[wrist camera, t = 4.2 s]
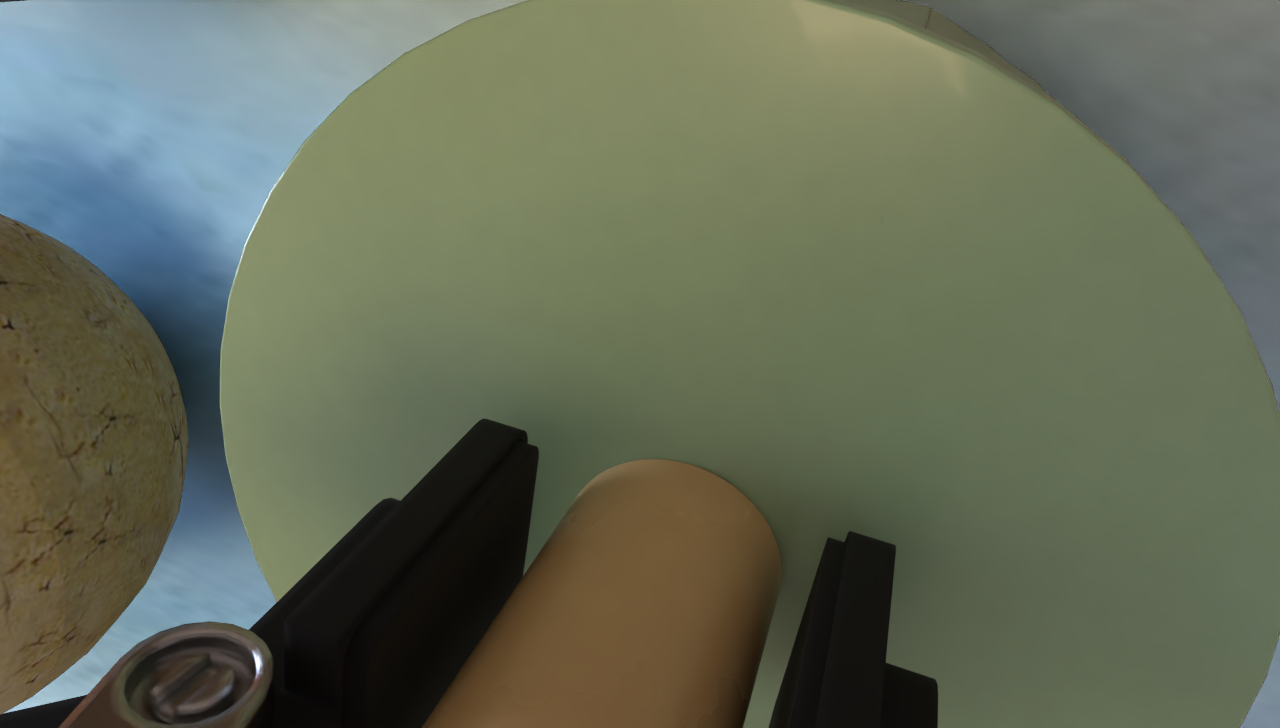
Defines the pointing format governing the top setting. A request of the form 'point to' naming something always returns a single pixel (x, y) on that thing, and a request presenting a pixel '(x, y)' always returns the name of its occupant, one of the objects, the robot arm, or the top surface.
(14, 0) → the bottle
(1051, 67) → the top surface
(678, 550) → the green lid
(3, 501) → the fossilized egg
